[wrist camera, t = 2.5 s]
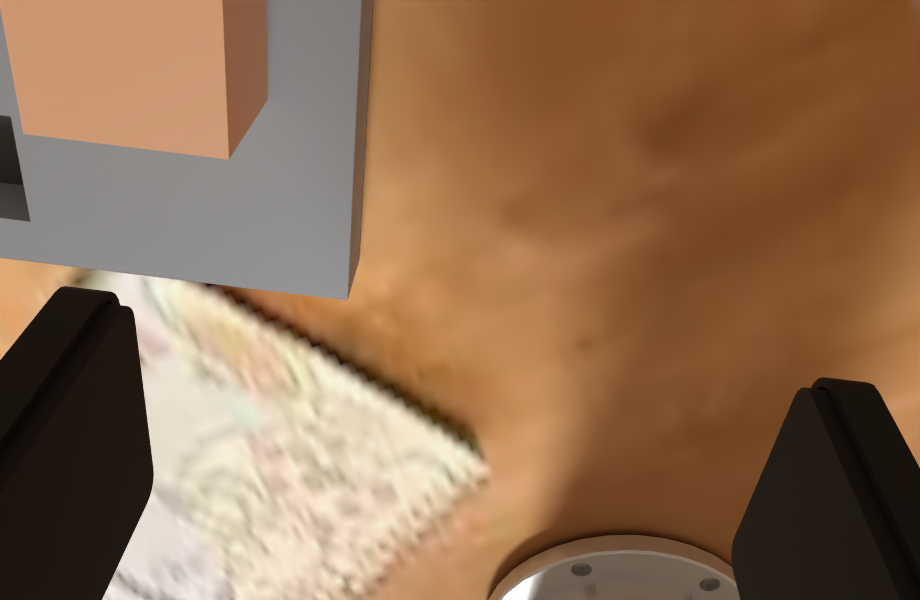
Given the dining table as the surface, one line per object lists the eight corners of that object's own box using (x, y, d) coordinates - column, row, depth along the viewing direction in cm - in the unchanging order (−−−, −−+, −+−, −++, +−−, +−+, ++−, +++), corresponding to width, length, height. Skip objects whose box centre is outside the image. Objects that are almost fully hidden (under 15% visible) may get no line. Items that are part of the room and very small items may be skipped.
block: (265, -92, 22) (219, -57, 18) (268, 99, 24) (228, 159, 21) (65, -117, 22) (-18, -87, 18) (90, 77, 24) (23, 133, 21)
